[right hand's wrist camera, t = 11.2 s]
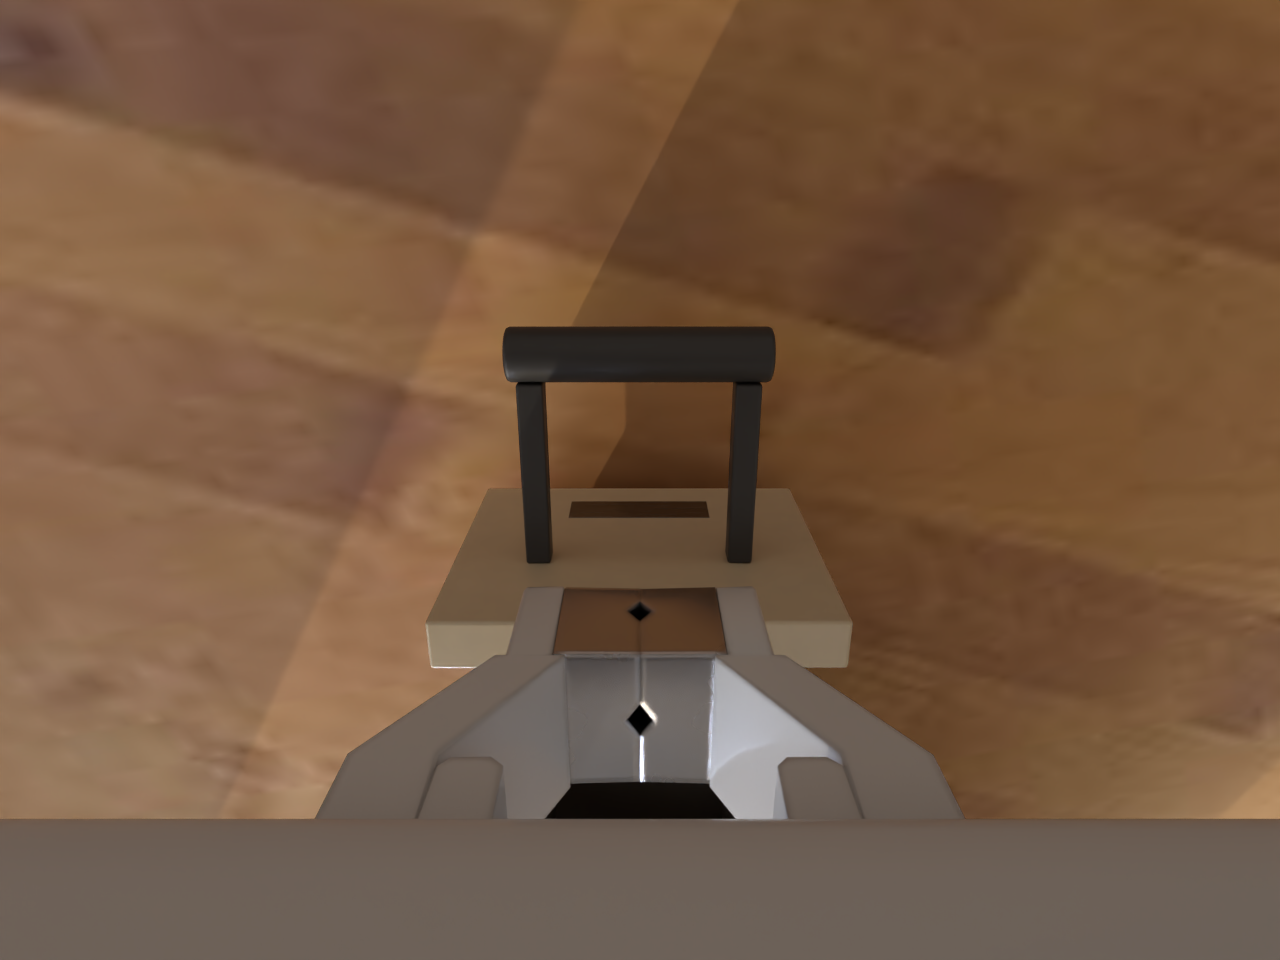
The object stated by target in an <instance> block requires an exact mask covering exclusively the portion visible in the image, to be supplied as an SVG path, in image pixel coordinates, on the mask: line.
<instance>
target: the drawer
mask: <svg viewBox="0 0 1280 960" xmlns="http://www.w3.org/2000/svg"><path fill="white" fill-rule="evenodd" d="M502 351H503V367H504V373H505V376H506V378H507V380H508V381H510V382H518V383H517V385H516V399H517V415H518V431H519V448H520V464H521V480H522V488H490V489H488V491H487V493H486V495H485V497H484V499H483V502H482V504H481V506H480V508H479V510H478V512H477V514H476V517H475V519H474V521H473V523H472V525H471V527H470V529H469V531H468V534H467V536H466V538H465V540H464V542H463V544H462V546H461V548H460V551H459V553H458V555H457V557H456V559H455V561H454V563H453V565H452V568H451V570H450V572H449V574H448V576H447V578H446V580H445V583H444V585H443V587H442V589H441V591H440V593H439V595H438V597H437V600H436V602H435V604H434V606H433V608H432V610H431V612H430V614H429V617H428V619H427V621H426V633H427V641H428V649H429V658H430V665H431V667H432V668H476V667H478V666H479V665H481V664H482V663H484V662H485V661H487V660H488V659H490V658H491V657H493V656H494V655H506V652H507V649H508V645H509V642H510V638H511V634H512V631H513V627H514V624H515V620H516V617H517V613H518V609H519V606H520V602H521V599H522V595H523V591H524V590H525V589H526V588H528V587H555V586H563V587H564V588H566V587H586V588H640V589H659V588H701V587H715V588H721V587H743V586H752V587H753V588H755V589H756V592H757V596H758V599H759V603H760V607H761V610H762V614H763V617H764V621H765V624H766V628H767V631H768V635H769V638H770V642H771V645H772V649H773V653H774V655H786V656H787V657H789V658H790V659H792V660H793V661H795V662H796V663H798V664H799V665H801V666H802V667H804V668H845V667H847V665H848V659H849V651H850V643H851V634H852V626H853V623H852V620H851V618H850V616H849V614H848V612H847V609H846V607H845V605H844V603H843V601H842V599H841V597H840V595H839V593H838V590H837V588H836V586H835V584H834V582H833V580H832V578H831V576H830V573H829V571H828V569H827V567H826V565H825V563H824V561H823V559H822V557H821V554H820V552H819V550H818V548H817V546H816V544H815V542H814V540H813V537H812V535H811V533H810V531H809V529H808V527H807V525H806V523H805V521H804V518H803V516H802V514H801V512H800V510H799V508H798V506H797V504H796V501H795V499H794V497H793V495H792V493H791V491H790V489H788V488H756V482H757V466H758V449H759V433H760V416H761V400H762V385H761V383H760V382H768V381H770V380H771V379H772V376H773V373H774V368H775V357H776V345H775V336H774V332H773V329H772V328H770V327H508V328H506V330H505V332H504V336H503V350H502ZM545 382H733V395H732V417H731V439H730V460H729V482H728V488H550V477H549V455H548V434H547V412H546V391H545ZM545 819H736V818H735V817H734V816H733V815H732V814H731V812H730V811H729V810H728V809H727V807H726V806H725V805H724V804H723V802H722V801H721V800H720V799H719V798H718V796H717V795H716V794H715V793H714V791H713V790H712V789H711V788H710V784H707V783H670V782H608V783H573V784H570V788H569V790H568V791H567V792H566V793H565V795H564V796H563V797H562V798H561V799H560V801H559V802H558V803H557V804H556V806H555V807H554V808H553V809H552V810H551V812H550V813H549V814H548V815H547V817H546V818H545Z"/></svg>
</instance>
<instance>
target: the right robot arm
mask: <svg viewBox="0 0 1280 960" xmlns="http://www.w3.org/2000/svg"><path fill="white" fill-rule="evenodd" d="M608 782H670V783H707V784H710V788H711V789H712V790H713V791H714V793H715V794H716V795H717V796H718V798H719V799H720V800H721V801H722V802H723V804H724V805H725V806H726V807H727V809H728V810H729V811H730V812H731V814H732V815H733V816H734V817H735V818H736V819H545V818H546V817H547V815H548V814H549V813H550V812H551V810H552V809H553V808H554V807H555V806H556V804H557V803H558V802H559V801H560V799H561V798H562V797H563V796H564V795H565V793H566V792H567V791H568V790H569V788H570V784H573V783H608ZM0 960H1280V819H965V817H964V815H963V813H962V811H961V809H960V807H959V805H958V803H957V801H956V799H955V797H954V795H953V793H952V791H951V789H950V787H949V785H948V783H947V781H946V779H945V777H944V775H943V773H942V771H941V769H940V767H939V765H938V763H937V761H936V759H935V757H934V755H933V754H931V753H930V752H928V751H927V750H925V749H924V748H922V747H921V746H919V745H918V744H916V743H915V742H913V741H912V740H910V739H909V738H907V737H906V736H905V735H903V734H902V733H900V732H899V731H897V730H896V729H894V728H893V727H891V726H890V725H888V724H887V723H885V722H884V721H882V720H881V719H879V718H878V717H876V716H875V715H873V714H872V713H870V712H869V711H867V710H866V709H864V708H863V707H861V706H860V705H859V704H857V703H856V702H854V701H853V700H851V699H850V698H848V697H847V696H845V695H844V694H842V693H841V692H839V691H838V690H836V689H835V688H833V687H832V686H830V685H829V684H827V683H826V682H824V681H823V680H821V679H820V678H818V677H817V676H815V675H814V674H812V673H811V672H810V671H808V670H807V669H805V668H804V667H802V666H801V665H799V664H798V663H796V662H795V661H793V660H792V659H790V658H789V657H787V656H786V655H774V653H773V649H772V645H771V642H770V638H769V635H768V631H767V628H766V624H765V621H764V617H763V614H762V610H761V607H760V603H759V599H758V596H757V592H756V589H755V588H753V587H752V586H743V587H721V588H715V587H701V588H659V589H640V588H586V587H566V588H564V587H563V586H555V587H528V588H526V589H525V590H524V591H523V595H522V599H521V602H520V606H519V609H518V613H517V617H516V620H515V624H514V627H513V631H512V634H511V638H510V642H509V645H508V649H507V652H506V655H494V656H493V657H491V658H490V659H488V660H487V661H485V662H484V663H482V664H481V665H479V666H478V667H476V668H475V669H473V670H472V671H470V672H469V673H467V674H466V675H464V676H463V677H461V678H460V679H458V680H457V681H455V682H454V683H453V684H451V685H450V686H448V687H447V688H445V689H444V690H442V691H441V692H439V693H438V694H436V695H435V696H433V697H432V698H430V699H429V700H427V701H426V702H424V703H423V704H421V705H420V706H418V707H417V708H415V709H414V710H412V711H411V712H409V713H408V714H406V715H405V716H403V717H402V718H400V719H399V720H397V721H396V722H394V723H393V724H391V725H390V726H388V727H387V728H385V729H384V730H382V731H381V732H379V733H378V734H376V735H375V736H373V737H372V738H370V739H369V740H367V741H366V742H365V743H363V744H362V745H360V746H359V747H357V748H356V749H354V750H353V751H351V752H350V753H348V754H347V756H346V758H345V760H344V762H343V764H342V766H341V768H340V770H339V772H338V774H337V776H336V778H335V780H334V782H333V784H332V786H331V788H330V790H329V792H328V794H327V796H326V798H325V800H324V802H323V804H322V805H321V807H320V809H319V811H318V813H317V815H316V817H315V819H0Z"/></svg>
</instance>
